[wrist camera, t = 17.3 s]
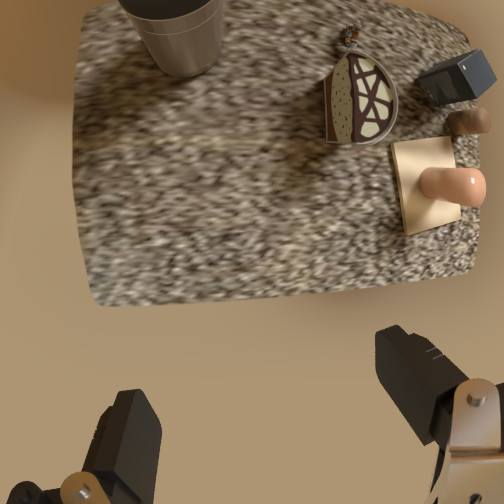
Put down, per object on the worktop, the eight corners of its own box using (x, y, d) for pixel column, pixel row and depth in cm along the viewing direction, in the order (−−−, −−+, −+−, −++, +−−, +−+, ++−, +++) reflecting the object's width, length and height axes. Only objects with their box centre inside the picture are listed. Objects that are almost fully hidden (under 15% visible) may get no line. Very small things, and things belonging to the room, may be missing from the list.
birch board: (389, 143, 40) (393, 143, 39) (446, 136, 40) (450, 135, 40) (404, 234, 44) (407, 235, 43) (457, 218, 44) (461, 219, 43)
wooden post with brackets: (354, 23, 34) (366, 22, 31) (345, 69, 39) (355, 72, 35) (343, 19, 34) (354, 18, 30) (334, 66, 39) (343, 69, 35)
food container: (366, 155, 40) (404, 153, 31) (326, 153, 40) (356, 149, 30) (362, 74, 37) (397, 54, 28) (323, 69, 37) (350, 44, 27)
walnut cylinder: (445, 112, 39) (472, 107, 33) (460, 111, 40) (487, 107, 33) (450, 135, 41) (478, 133, 34) (465, 134, 41) (492, 132, 34)
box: (434, 107, 39) (477, 99, 29) (415, 77, 38) (457, 62, 28) (457, 89, 39) (499, 80, 28) (440, 61, 37) (480, 47, 27)
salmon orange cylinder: (417, 169, 40) (460, 170, 31) (440, 165, 41) (484, 167, 31) (421, 201, 42) (464, 210, 32) (444, 196, 42) (487, 204, 32)
